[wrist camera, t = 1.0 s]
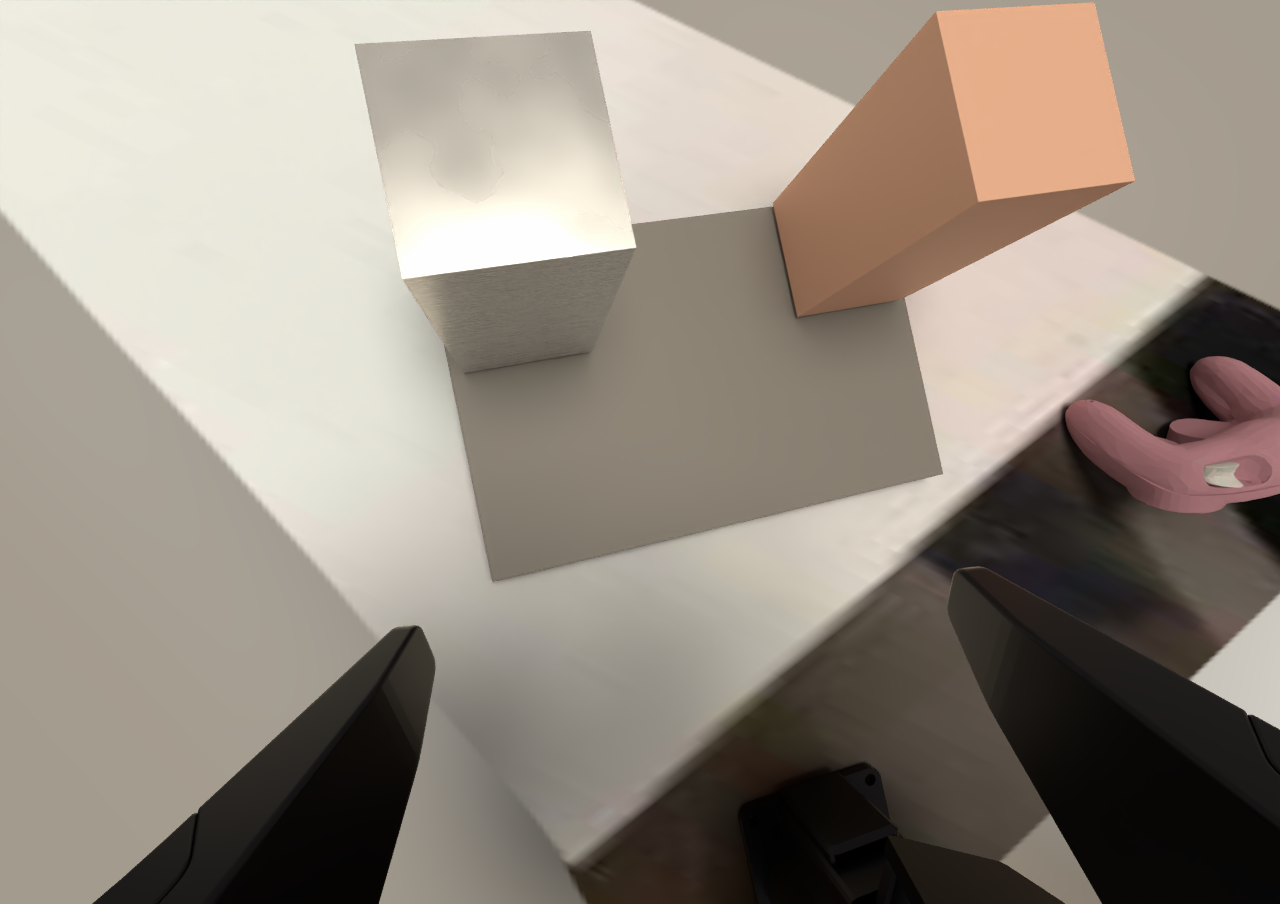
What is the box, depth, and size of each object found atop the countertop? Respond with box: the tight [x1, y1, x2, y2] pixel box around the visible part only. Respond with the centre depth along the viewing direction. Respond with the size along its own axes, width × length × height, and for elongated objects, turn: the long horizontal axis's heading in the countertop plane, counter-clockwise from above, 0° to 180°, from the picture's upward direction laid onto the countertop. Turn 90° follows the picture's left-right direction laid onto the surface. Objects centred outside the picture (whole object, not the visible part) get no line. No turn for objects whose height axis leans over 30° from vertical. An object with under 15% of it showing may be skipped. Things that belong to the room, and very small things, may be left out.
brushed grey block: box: [355, 31, 636, 373], centre depth 17 cm, size 5×5×10 cm
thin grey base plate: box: [444, 207, 943, 582], centre depth 24 cm, size 13×20×1 cm, turn 102°
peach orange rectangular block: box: [773, 3, 1135, 317], centre depth 20 cm, size 5×5×10 cm
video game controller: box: [1065, 356, 1280, 513], centre depth 26 cm, size 10×5×7 cm, turn 108°
